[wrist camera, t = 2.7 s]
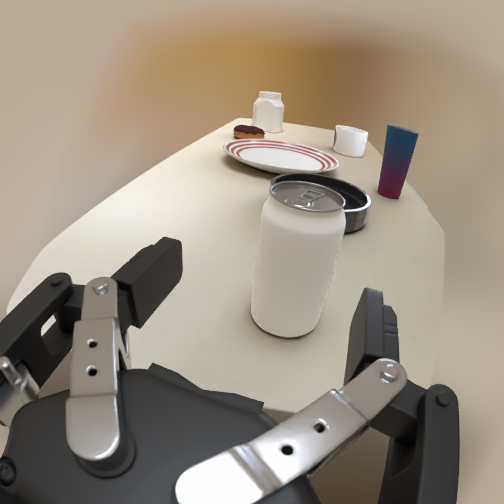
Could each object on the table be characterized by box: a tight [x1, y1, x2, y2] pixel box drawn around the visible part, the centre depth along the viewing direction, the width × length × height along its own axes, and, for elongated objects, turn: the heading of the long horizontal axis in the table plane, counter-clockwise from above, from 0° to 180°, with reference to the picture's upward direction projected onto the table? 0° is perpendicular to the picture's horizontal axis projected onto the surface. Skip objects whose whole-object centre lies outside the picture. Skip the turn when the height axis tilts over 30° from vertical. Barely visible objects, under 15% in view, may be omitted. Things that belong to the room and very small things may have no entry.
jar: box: [252, 91, 284, 133], centre depth 106 cm, size 12×10×15 cm
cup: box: [378, 124, 418, 199], centre depth 57 cm, size 7×7×15 cm
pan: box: [269, 173, 371, 233], centre depth 48 cm, size 16×16×4 cm
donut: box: [234, 125, 265, 139], centre depth 92 cm, size 10×10×4 cm
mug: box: [333, 125, 368, 158], centre depth 90 cm, size 13×10×8 cm
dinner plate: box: [223, 139, 339, 174], centre depth 70 cm, size 27×27×3 cm
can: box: [251, 181, 346, 338], centre depth 25 cm, size 6×6×12 cm
